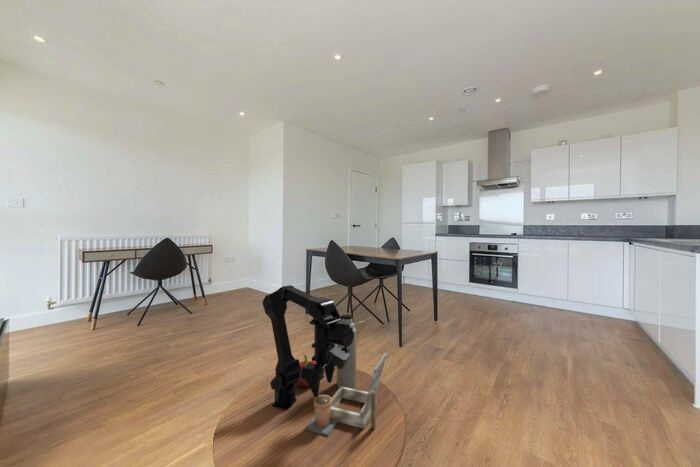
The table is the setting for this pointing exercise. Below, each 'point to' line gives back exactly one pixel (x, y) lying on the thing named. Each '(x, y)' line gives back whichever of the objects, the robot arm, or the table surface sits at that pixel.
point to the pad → (324, 431)
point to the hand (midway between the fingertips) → (323, 389)
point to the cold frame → (359, 396)
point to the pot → (322, 410)
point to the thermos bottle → (348, 373)
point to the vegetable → (302, 364)
